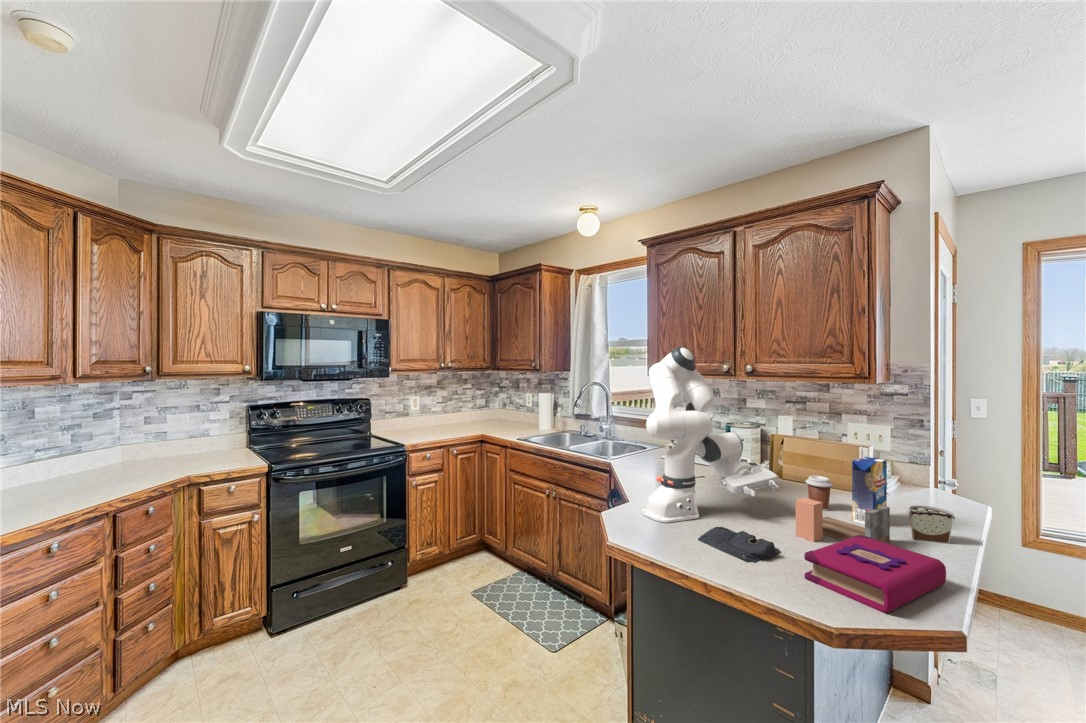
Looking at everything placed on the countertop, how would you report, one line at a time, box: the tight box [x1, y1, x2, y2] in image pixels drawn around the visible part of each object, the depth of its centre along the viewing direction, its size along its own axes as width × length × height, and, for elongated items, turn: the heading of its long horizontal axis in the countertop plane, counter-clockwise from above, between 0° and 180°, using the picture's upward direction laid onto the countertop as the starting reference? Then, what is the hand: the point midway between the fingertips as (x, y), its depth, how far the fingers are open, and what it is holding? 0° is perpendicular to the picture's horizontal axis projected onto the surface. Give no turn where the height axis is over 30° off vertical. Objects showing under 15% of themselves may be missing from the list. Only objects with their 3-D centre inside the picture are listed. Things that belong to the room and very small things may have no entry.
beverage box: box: [851, 456, 888, 525], centre depth 168 cm, size 7×11×22 cm, turn 124°
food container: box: [906, 505, 956, 545], centre depth 151 cm, size 12×6×10 cm, turn 71°
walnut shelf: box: [823, 506, 891, 543], centre depth 155 cm, size 12×20×11 cm, turn 29°
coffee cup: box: [805, 475, 834, 512], centre depth 181 cm, size 9×9×12 cm
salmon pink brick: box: [795, 497, 824, 543], centre depth 153 cm, size 5×6×12 cm
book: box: [803, 535, 947, 614], centre depth 123 cm, size 21×28×8 cm
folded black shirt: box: [697, 526, 781, 564], centre depth 146 cm, size 15×22×5 cm
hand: (766, 491), depth 167 cm, fingers open, 8 cm apart
